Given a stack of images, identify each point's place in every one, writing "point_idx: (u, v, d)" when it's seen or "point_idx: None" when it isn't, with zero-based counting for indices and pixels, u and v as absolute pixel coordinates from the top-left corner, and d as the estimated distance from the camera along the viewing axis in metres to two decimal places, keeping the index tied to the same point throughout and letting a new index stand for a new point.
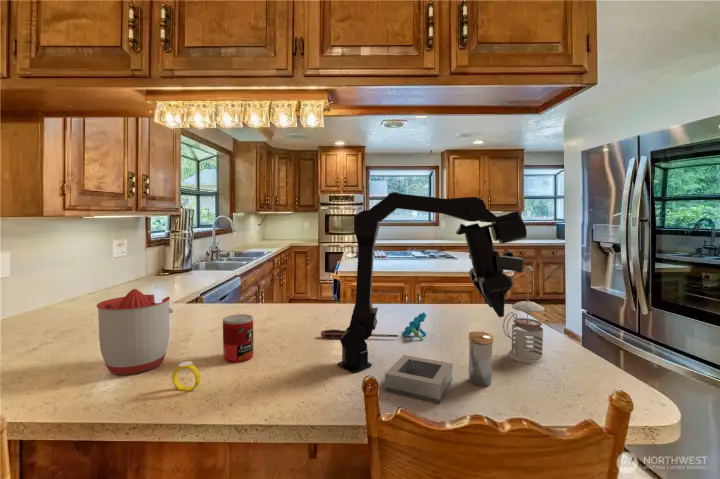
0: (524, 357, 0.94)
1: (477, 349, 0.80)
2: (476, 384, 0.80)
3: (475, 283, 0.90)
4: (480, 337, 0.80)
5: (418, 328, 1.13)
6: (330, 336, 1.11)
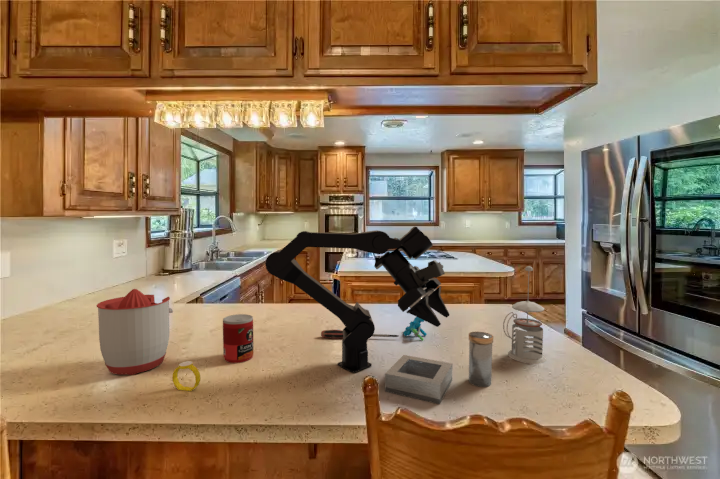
0: (524, 357, 0.94)
1: (477, 349, 0.80)
2: (476, 384, 0.80)
3: None
4: (480, 337, 0.80)
5: (418, 328, 1.13)
6: (330, 336, 1.11)
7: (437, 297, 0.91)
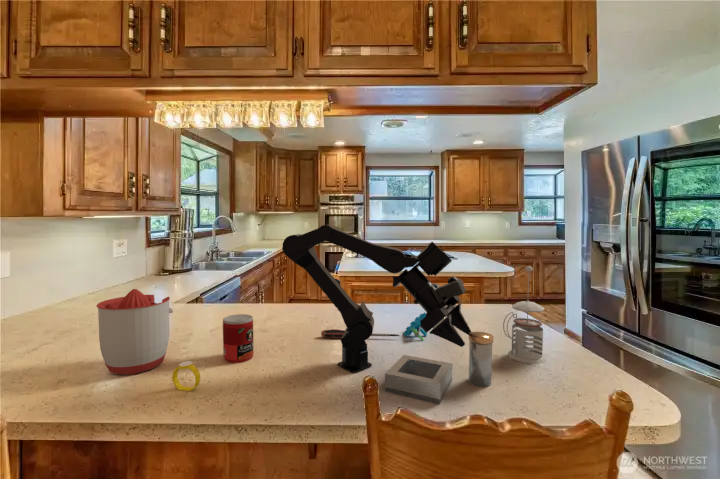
0: (524, 357, 0.94)
1: (477, 349, 0.80)
2: (476, 384, 0.80)
3: None
4: (480, 337, 0.80)
5: (419, 328, 1.13)
6: (330, 336, 1.11)
7: (458, 314, 0.89)
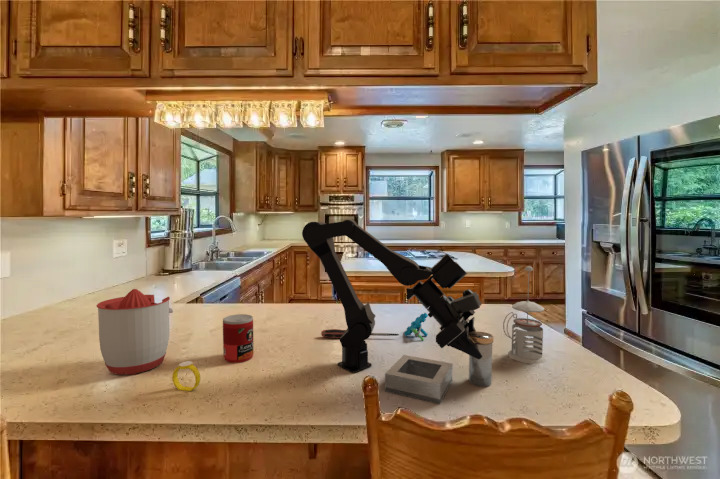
0: (524, 357, 0.94)
1: None
2: (476, 384, 0.80)
3: None
4: (480, 337, 0.80)
5: (419, 328, 1.13)
6: (331, 336, 1.11)
7: (471, 329, 0.85)
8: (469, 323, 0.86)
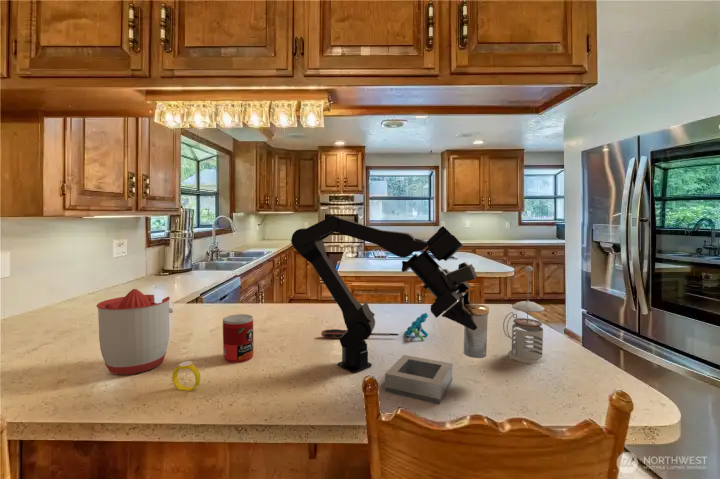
0: (524, 357, 0.94)
1: None
2: (471, 356, 0.80)
3: None
4: (475, 308, 0.79)
5: (419, 328, 1.13)
6: (331, 336, 1.11)
7: (466, 302, 0.85)
8: (464, 296, 0.85)
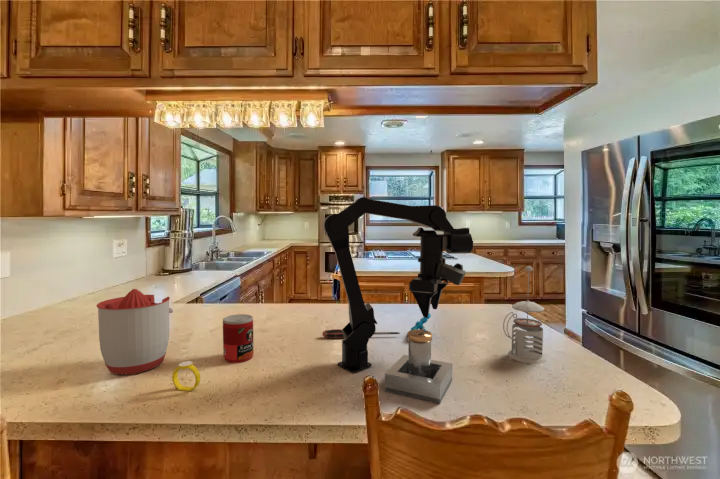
0: (524, 357, 0.94)
1: (415, 348, 0.77)
2: None
3: None
4: (418, 335, 0.78)
5: (421, 329, 1.12)
6: (332, 336, 1.11)
7: (439, 290, 0.97)
8: (441, 285, 0.97)
